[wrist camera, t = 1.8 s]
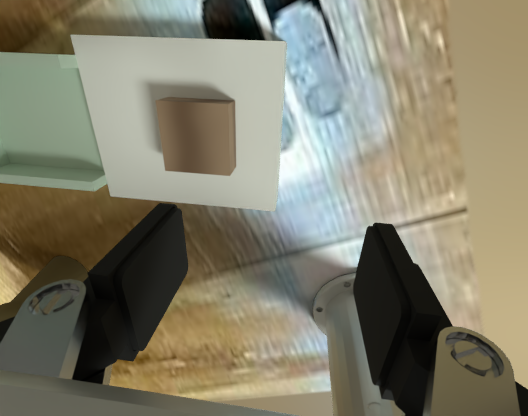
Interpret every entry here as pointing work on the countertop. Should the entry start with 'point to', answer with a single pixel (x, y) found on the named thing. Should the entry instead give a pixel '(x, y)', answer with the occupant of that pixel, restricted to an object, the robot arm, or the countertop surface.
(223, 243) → the countertop surface
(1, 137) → the box
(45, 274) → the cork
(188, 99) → the walnut tile
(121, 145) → the white flat slab
